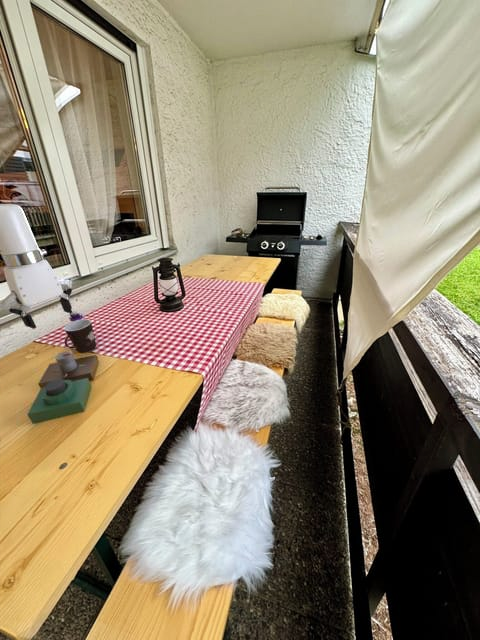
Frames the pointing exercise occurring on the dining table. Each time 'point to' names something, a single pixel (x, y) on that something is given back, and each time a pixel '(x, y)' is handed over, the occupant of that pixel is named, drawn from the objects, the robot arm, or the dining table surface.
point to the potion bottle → (75, 316)
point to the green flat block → (61, 402)
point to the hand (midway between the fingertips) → (51, 319)
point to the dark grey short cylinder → (56, 387)
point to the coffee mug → (81, 335)
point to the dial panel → (82, 371)
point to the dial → (66, 361)
